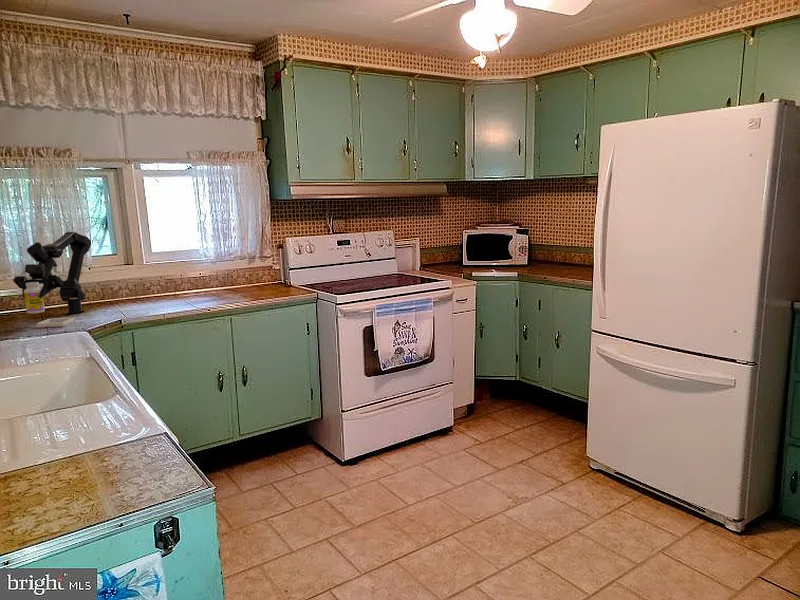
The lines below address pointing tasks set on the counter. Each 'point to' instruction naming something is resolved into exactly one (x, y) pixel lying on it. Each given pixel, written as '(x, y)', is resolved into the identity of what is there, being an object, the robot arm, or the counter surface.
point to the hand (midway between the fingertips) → (31, 297)
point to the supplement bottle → (33, 298)
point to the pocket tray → (55, 322)
